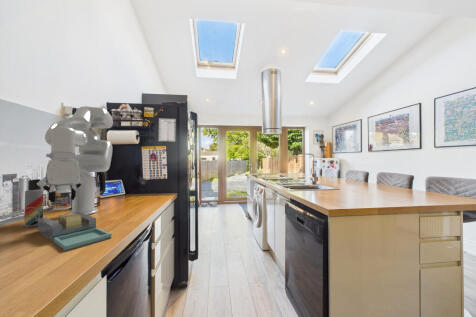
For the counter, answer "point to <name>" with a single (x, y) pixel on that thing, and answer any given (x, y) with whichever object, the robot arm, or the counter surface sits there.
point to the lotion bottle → (33, 204)
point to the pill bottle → (62, 197)
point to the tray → (81, 238)
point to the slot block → (57, 230)
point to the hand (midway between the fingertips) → (62, 200)
